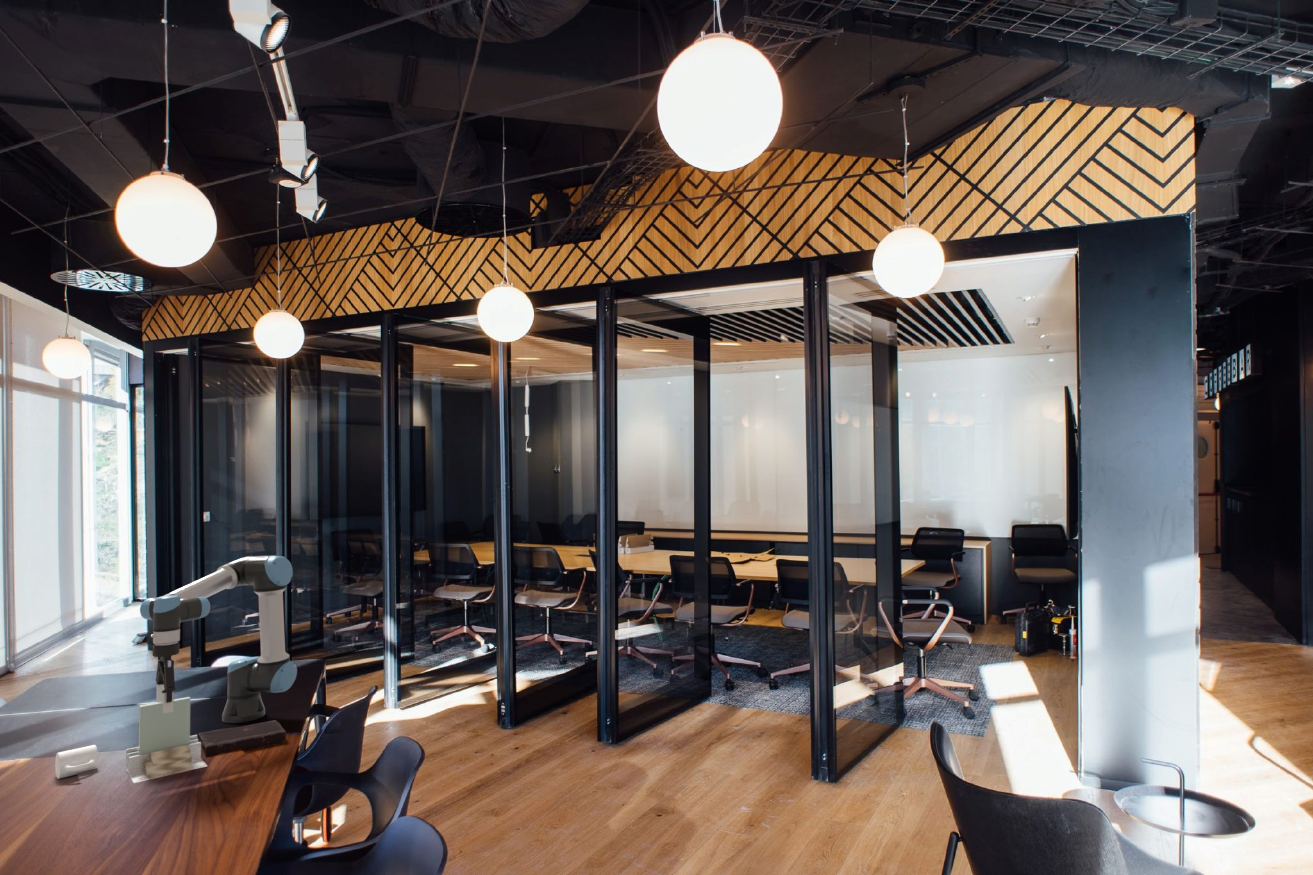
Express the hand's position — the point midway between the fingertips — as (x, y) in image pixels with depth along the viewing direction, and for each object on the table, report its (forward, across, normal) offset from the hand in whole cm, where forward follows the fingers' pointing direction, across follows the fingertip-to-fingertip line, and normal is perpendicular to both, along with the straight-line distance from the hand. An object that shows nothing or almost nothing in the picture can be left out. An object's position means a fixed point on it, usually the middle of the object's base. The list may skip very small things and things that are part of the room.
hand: (164, 708), depth 250 cm
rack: (+19, +4, 0) cm, 19 cm away
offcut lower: (+18, +8, 0) cm, 20 cm away
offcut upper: (+15, +8, +1) cm, 17 cm away
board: (+18, 0, 0) cm, 18 cm away
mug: (+19, -12, -22) cm, 31 cm away
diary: (+19, -6, +25) cm, 32 cm away
